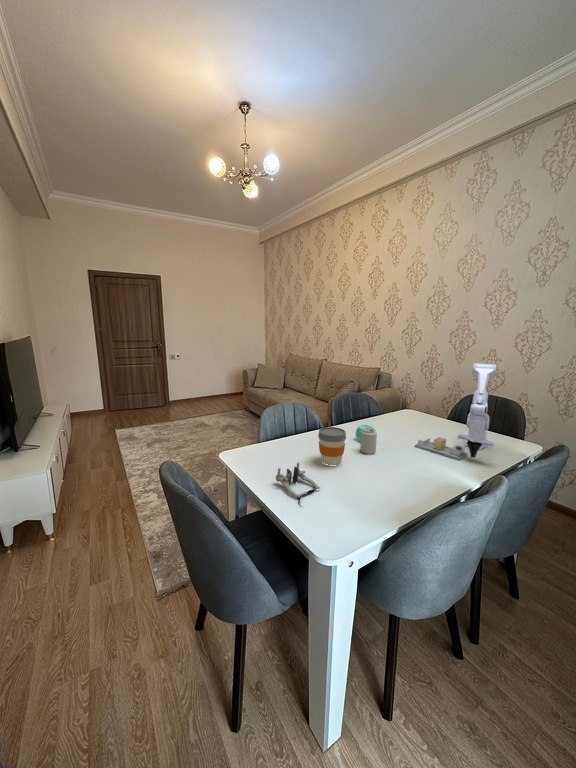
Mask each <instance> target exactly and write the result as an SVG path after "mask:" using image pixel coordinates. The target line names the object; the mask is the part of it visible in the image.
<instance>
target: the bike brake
mask: <svg viewBox="0 0 576 768" xmlns="http://www.w3.org/2000/svg"><path fill="white" fill-rule="evenodd" d="M293 467H294V468H293V471H292V470H290V469H289V468H286V475H284V474H283V473H281V470H282V469H281V467H278V468H277V474H276V475H275V480H276V482H277V483H279V482H280V484H282V485H283V487H284V488H285V489H286V491H287V492H288V493H289V494H290V495H291V496H292V497H293V498H295V497H296V498H299V499H297V500H299V502H300V503H301V499H302V498H303V497H302V496H305V495H306V496H307V494H308V495H310V493H311V494H313V493H314V492H315V491H316V489H319V490H320V488H321V486H319V485H317V483H316V482H315V481H313V480H312V479H311V478H309V477H308V476H306V470H301V469H300V461H299V462H296V466H293ZM299 479H301V480H302V481H304V482H307V483H308V484H311V486H313V488H314V487H315V488H314V489H309V490H308V491H304V492H301V493H298V494H297V493H296V492H295V491H293V490H292V488H291V487H290V486H291V484H292V482H294V484H296V482H297V483H298V481H299ZM289 485H290V486H289ZM299 496H300V497H299ZM301 497H302V498H301ZM296 498H295V499H296ZM299 502H298V503H299Z"/></svg>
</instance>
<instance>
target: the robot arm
mask: <svg viewBox="0 0 576 768" xmlns="http://www.w3.org/2000/svg"><path fill="white" fill-rule="evenodd" d="M497 367H498V366H497V364H495V363H476V362H474V363H473V364H472V374H471V375H472V378H473V379H475V380H476V381H477V387H476V390H475V391H474V392H473V397H472V403H471V404H470V407H469V408H470V409H469V413H468V414H467V419H466V428H467V429H468V434H463V433H458V434H457V439H459V440H460V439H461V440H465V441H467V442H465V443H464V444H463V445H464V447H465V446H466V447H468V450H469V453H470V458H476V456H477V453H478V451H479V450H480V451H481V450H483V449H484V448H485V447H487V446H488V447H490V448H492V447H494V444H495V442H494V441H491V440H488V439H486V438H487V431H488V430H489V425H490V416H489V414H488V406H489V405H488V400H489V399H488V398H489V393H488V384H489V383H490V381H494V379H495V378H496V373H497Z"/></svg>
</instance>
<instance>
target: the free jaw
mask: <svg viewBox="0 0 576 768" xmlns="http://www.w3.org/2000/svg"><path fill="white" fill-rule="evenodd" d="M465 449H466V447H465V446H461V445H457V444H456V445H454V446H451V449H450V454H452V455H455V456H458V457H459V456H461V455H462V454H464V451H465ZM465 452H466V451H465Z"/></svg>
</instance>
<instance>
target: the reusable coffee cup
mask: <svg viewBox="0 0 576 768" xmlns="http://www.w3.org/2000/svg"><path fill="white" fill-rule="evenodd" d="M318 430H319V431H318V434H317V435H318V436H317V438H318V449H319V453H320V460H321V463H322V462H323V463H325V464H328V465H339V464H340V463H341V464H342V459H343V455H344V453H345V448H346V447H345V446H346V439H347V434H346V430H345V429H343V428H340V427H335V426H327V427H326V426H325V427H321V428H320V429H318ZM323 463H322V464H323ZM341 464H340V465H341ZM340 465H339V466H340Z"/></svg>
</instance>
